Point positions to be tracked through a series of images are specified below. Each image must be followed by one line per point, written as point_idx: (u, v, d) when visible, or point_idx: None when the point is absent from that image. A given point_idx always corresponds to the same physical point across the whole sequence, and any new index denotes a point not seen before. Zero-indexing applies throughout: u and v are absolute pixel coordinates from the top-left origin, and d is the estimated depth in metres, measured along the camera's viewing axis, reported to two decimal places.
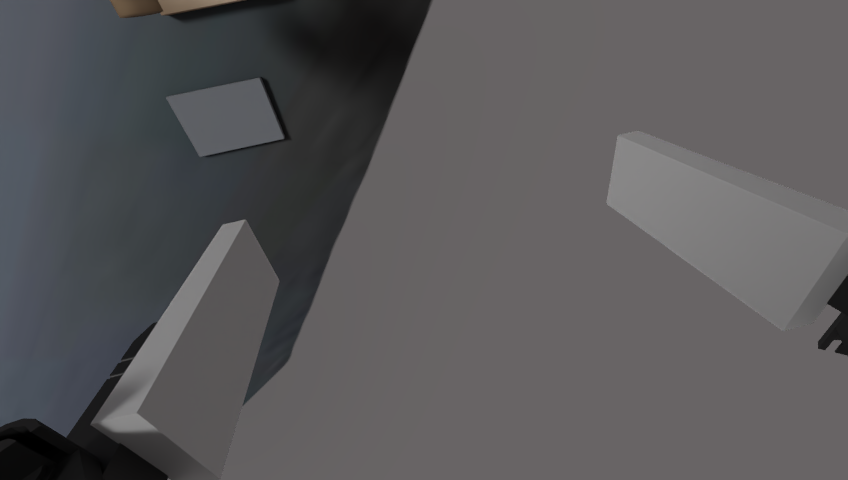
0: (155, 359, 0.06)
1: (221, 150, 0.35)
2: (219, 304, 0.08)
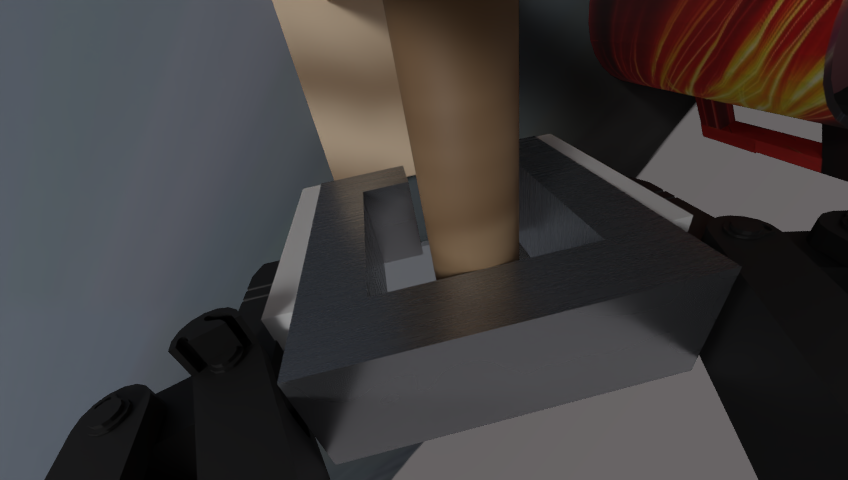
0: (293, 278, 0.08)
1: None
2: None
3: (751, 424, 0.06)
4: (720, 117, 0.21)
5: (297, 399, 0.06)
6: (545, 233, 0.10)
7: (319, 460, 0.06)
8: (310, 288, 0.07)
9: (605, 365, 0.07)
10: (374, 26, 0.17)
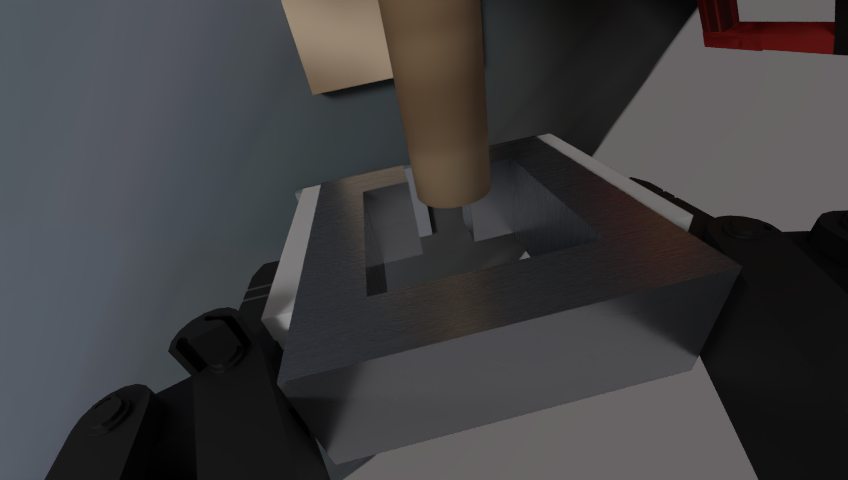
0: (293, 278, 0.08)
1: None
2: None
3: (751, 424, 0.06)
4: (723, 16, 0.20)
5: (297, 399, 0.06)
6: (545, 233, 0.10)
7: (319, 460, 0.06)
8: (310, 288, 0.07)
9: (605, 365, 0.07)
10: None
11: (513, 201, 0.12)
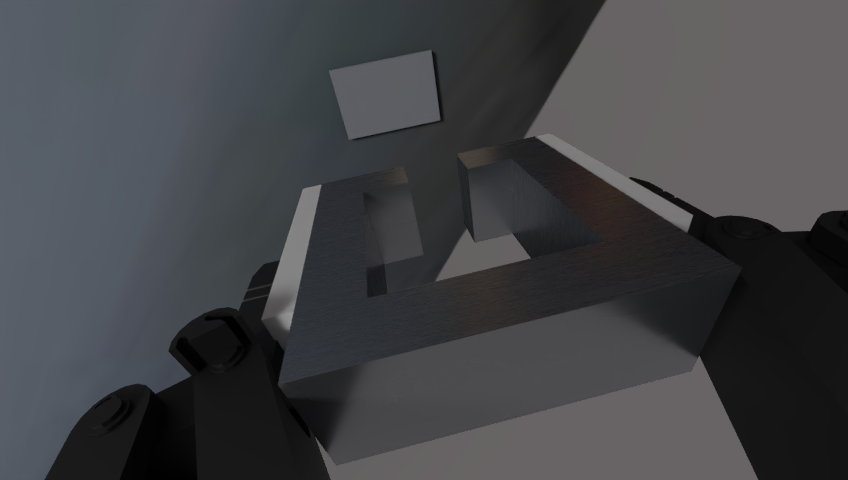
0: (294, 278, 0.08)
1: (372, 132, 0.32)
2: None
3: (751, 424, 0.06)
4: None
5: (298, 400, 0.06)
6: (546, 233, 0.10)
7: (319, 460, 0.06)
8: (311, 289, 0.07)
9: (604, 366, 0.07)
10: None
11: (513, 202, 0.12)
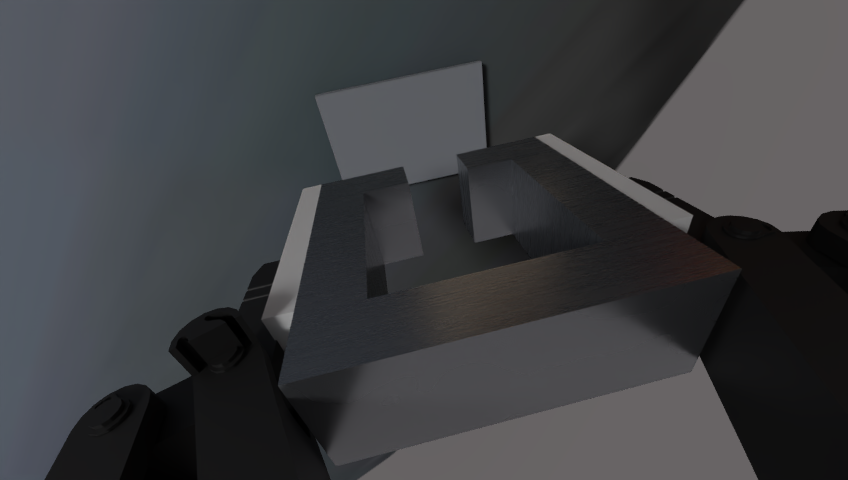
0: (293, 278, 0.08)
1: None
2: None
3: (751, 424, 0.06)
4: None
5: (298, 401, 0.06)
6: (546, 234, 0.10)
7: (319, 460, 0.06)
8: (311, 290, 0.07)
9: (605, 367, 0.07)
10: None
11: (513, 202, 0.12)
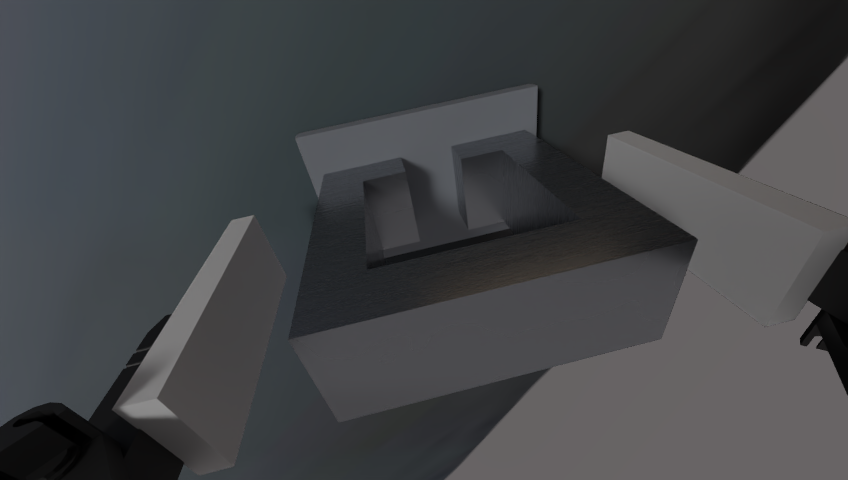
0: (172, 348, 0.07)
1: (395, 252, 0.15)
2: (231, 297, 0.09)
3: None
4: None
5: (305, 355, 0.06)
6: (532, 218, 0.10)
7: None
8: (315, 263, 0.08)
9: (580, 331, 0.07)
10: None
11: (504, 191, 0.12)
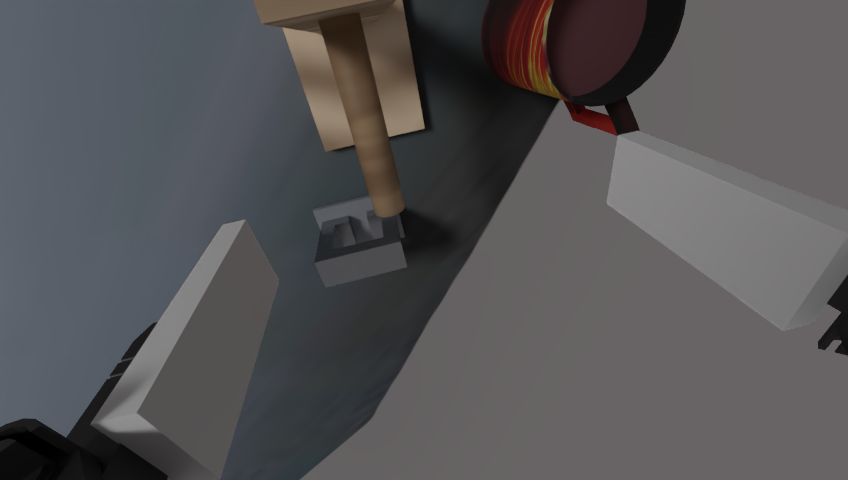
0: (155, 359, 0.06)
1: None
2: (219, 304, 0.08)
3: None
4: (574, 106, 0.33)
5: (318, 267, 0.30)
6: None
7: None
8: (319, 249, 0.32)
9: (382, 263, 0.31)
10: None
11: None
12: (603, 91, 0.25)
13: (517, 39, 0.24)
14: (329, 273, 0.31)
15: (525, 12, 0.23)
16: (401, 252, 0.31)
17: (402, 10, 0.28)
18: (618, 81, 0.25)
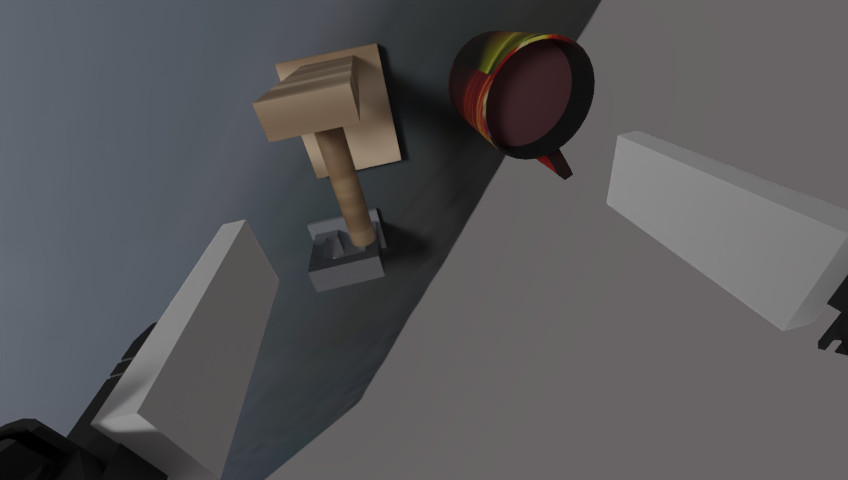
0: (155, 359, 0.06)
1: (339, 257, 0.46)
2: (219, 304, 0.08)
3: None
4: None
5: (310, 276, 0.37)
6: None
7: None
8: (312, 260, 0.38)
9: (364, 273, 0.38)
10: None
11: None
12: (539, 144, 0.32)
13: (469, 104, 0.30)
14: (320, 281, 0.38)
15: (473, 86, 0.29)
16: (379, 264, 0.38)
17: (380, 68, 0.34)
18: (551, 136, 0.31)
